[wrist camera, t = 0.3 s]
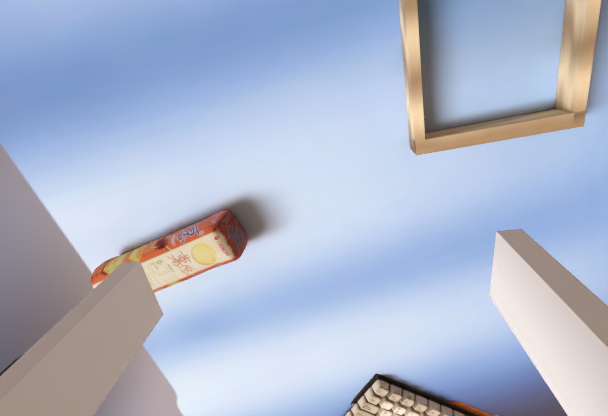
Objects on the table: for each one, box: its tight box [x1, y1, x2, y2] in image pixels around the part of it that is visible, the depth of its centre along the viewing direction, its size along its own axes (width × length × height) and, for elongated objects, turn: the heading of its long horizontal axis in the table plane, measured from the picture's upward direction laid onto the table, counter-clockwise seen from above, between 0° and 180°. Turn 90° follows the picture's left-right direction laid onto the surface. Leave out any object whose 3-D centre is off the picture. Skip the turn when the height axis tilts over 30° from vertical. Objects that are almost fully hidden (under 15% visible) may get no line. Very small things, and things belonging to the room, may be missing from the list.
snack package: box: [91, 210, 247, 292], centre depth 43 cm, size 21×7×7 cm, turn 116°
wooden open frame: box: [399, 0, 601, 155], centre depth 31 cm, size 16×16×3 cm
